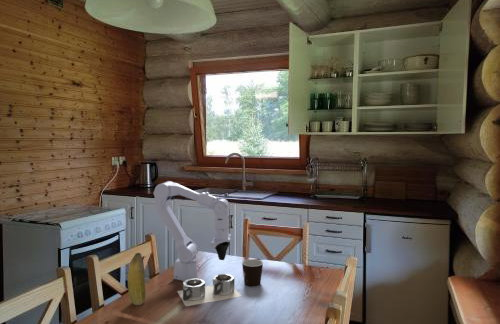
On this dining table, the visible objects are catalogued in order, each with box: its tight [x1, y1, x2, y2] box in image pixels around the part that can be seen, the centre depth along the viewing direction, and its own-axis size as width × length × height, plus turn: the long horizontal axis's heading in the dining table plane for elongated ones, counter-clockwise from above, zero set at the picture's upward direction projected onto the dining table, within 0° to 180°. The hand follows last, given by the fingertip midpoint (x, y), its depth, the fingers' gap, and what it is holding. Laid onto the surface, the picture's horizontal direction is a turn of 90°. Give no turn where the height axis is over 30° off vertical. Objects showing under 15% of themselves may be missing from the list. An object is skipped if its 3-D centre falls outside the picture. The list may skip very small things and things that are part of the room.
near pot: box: [182, 277, 206, 301], centre depth 144 cm, size 8×11×5 cm
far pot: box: [212, 273, 235, 296], centre depth 149 cm, size 8×11×5 cm
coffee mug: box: [241, 258, 264, 288], centre depth 159 cm, size 12×9×10 cm
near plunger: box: [189, 280, 199, 286], centre depth 145 cm, size 5×5×4 cm
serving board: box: [176, 284, 242, 307], centre depth 148 cm, size 22×14×1 cm, turn 113°
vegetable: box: [127, 252, 146, 306], centre depth 139 cm, size 6×6×20 cm
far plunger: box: [219, 275, 228, 281], centre depth 150 cm, size 5×5×4 cm
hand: (221, 259), depth 160 cm, fingers closed
